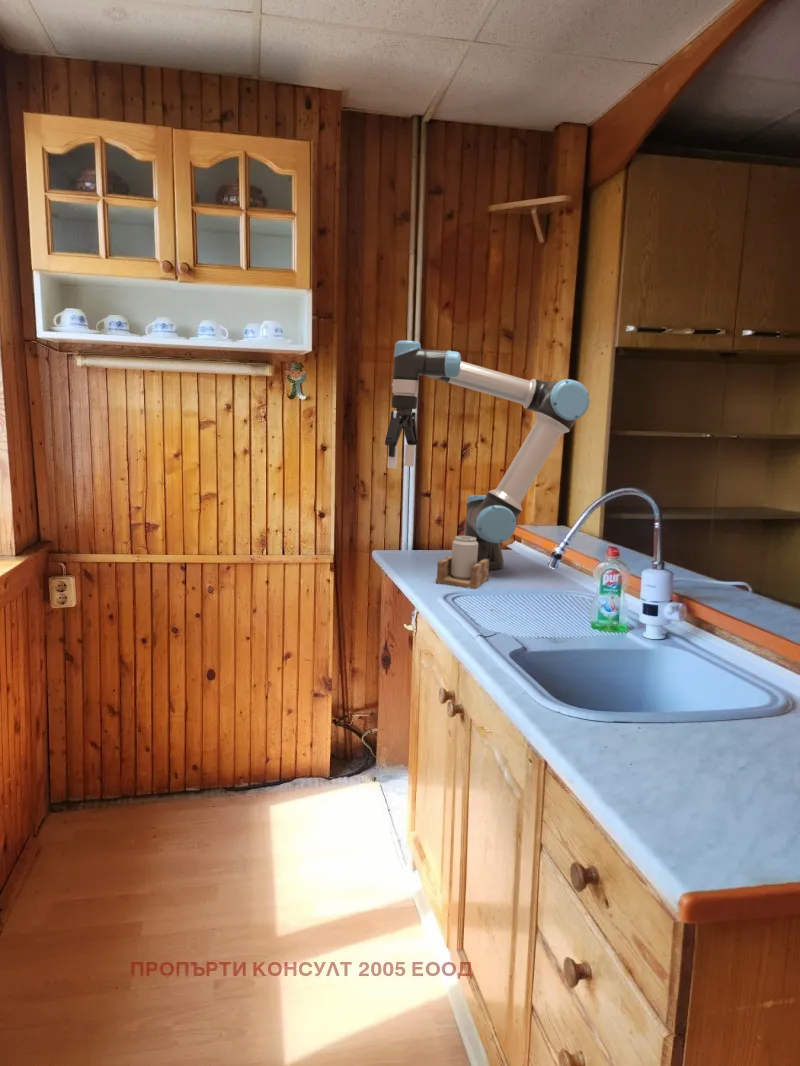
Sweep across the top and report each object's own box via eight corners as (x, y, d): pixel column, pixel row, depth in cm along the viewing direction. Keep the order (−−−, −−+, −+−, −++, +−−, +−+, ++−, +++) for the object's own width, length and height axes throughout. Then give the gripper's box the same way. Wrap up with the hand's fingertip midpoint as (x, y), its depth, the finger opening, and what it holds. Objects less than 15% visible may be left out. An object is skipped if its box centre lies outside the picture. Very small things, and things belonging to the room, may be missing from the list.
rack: (450, 574, 221) (452, 554, 220) (488, 579, 217) (490, 559, 216) (435, 583, 208) (437, 562, 207) (475, 588, 204) (477, 567, 203)
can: (475, 575, 216) (478, 535, 214) (476, 580, 208) (479, 540, 206) (450, 573, 216) (453, 534, 214) (450, 579, 209) (452, 538, 207)
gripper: (408, 396, 225) (404, 464, 229) (375, 392, 202) (372, 468, 206) (430, 397, 223) (426, 466, 226) (400, 393, 200) (396, 470, 203)
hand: (400, 467), depth 216 cm, fingers open, 13 cm apart
